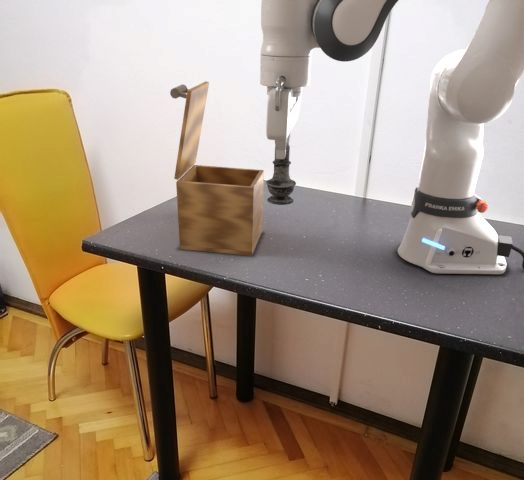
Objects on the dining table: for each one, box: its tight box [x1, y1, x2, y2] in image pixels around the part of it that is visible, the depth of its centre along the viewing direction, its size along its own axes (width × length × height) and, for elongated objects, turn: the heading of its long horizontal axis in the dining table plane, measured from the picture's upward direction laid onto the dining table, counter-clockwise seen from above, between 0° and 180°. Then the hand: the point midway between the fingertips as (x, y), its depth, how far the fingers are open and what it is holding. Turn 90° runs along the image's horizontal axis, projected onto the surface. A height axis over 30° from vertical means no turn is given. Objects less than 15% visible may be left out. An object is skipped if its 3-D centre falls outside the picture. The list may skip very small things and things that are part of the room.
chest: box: [175, 164, 265, 257], centre depth 115 cm, size 16×14×14 cm
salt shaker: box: [265, 143, 297, 206], centre depth 102 cm, size 6×6×12 cm
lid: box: [169, 80, 210, 181], centre depth 107 cm, size 17×14×5 cm
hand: (282, 155), depth 101 cm, fingers closed on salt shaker, 3 cm apart
